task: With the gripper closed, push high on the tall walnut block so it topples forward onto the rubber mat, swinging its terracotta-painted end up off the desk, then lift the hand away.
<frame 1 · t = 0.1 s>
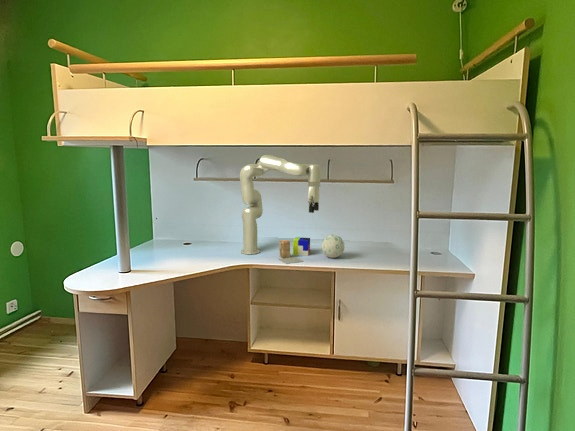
hand: (313, 211, 248), 31 cm above the table, tool pointing down, fingers open, 9 cm apart
puzzle toy: (301, 253, 268), on the table
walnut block: (284, 257, 257), on the table
rubber mat: (291, 260, 250), on the table
puzzle ball: (332, 257, 258), on the table
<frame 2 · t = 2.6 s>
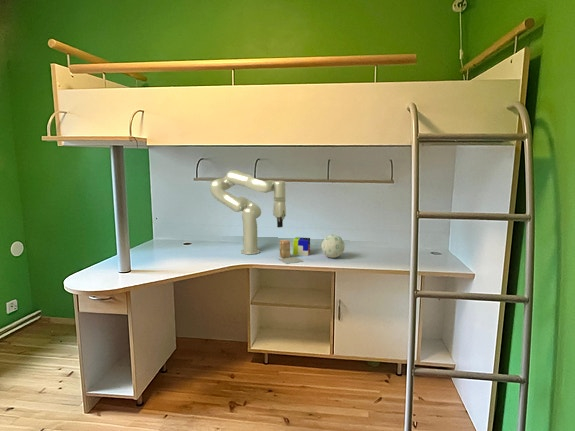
hand: (279, 227, 261), 19 cm above the table, tool pointing down, fingers closed
nothing on the table moved.
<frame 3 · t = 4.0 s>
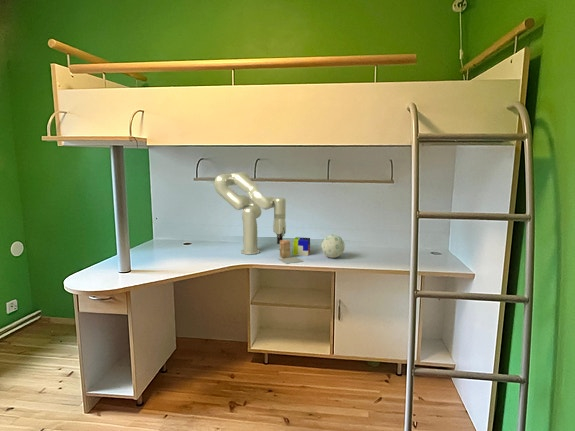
hand: (279, 243, 263), 8 cm above the table, tool pointing down, fingers closed
nothing on the table moved.
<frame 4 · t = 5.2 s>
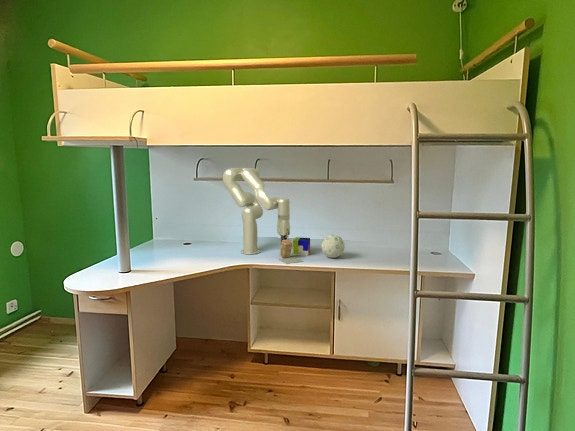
hand: (283, 245, 258), 8 cm above the table, tool pointing down, fingers closed
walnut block: (284, 256, 257), point 1 cm above the table, tilted 16°, touching gripper
everything else where it was.
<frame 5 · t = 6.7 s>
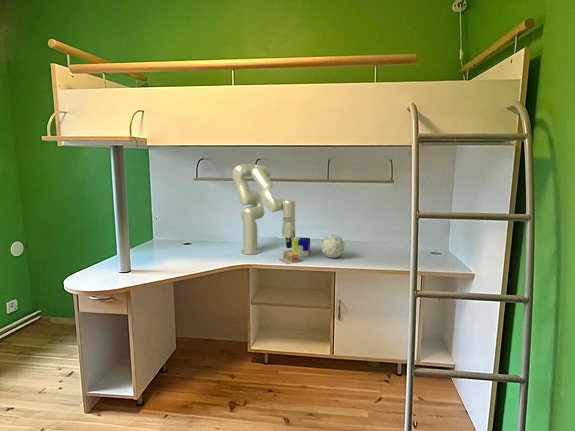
hand: (289, 247, 251), 8 cm above the table, tool pointing down, fingers closed
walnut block: (286, 254, 255), point 3 cm above the table, tilted 90°, touching rubber mat
everything else where it was.
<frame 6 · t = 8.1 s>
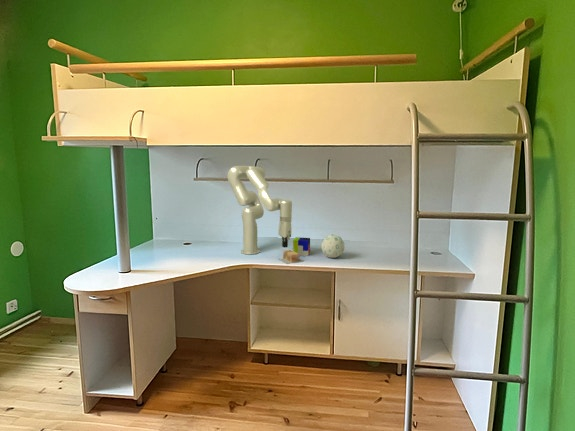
hand: (284, 246, 256), 7 cm above the table, tool pointing down, fingers closed
nothing on the table moved.
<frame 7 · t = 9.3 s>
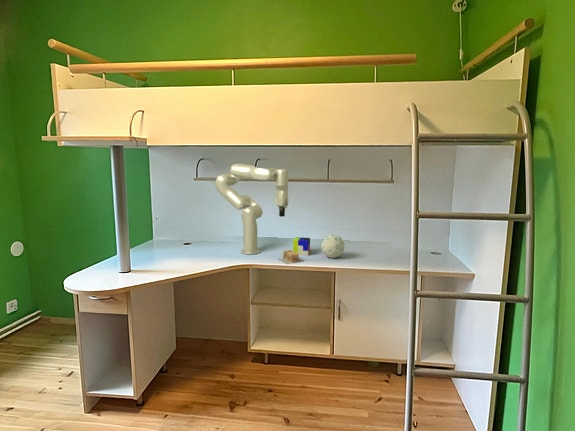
hand: (281, 216, 257), 27 cm above the table, tool pointing down, fingers closed
nothing on the table moved.
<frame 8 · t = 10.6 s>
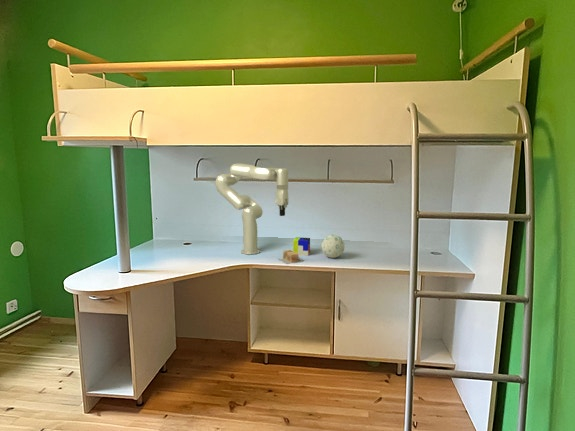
hand: (282, 215, 257), 27 cm above the table, tool pointing down, fingers closed
nothing on the table moved.
at the end: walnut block tilted 90°; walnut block inside the target area (4.1 cm from its centre), point 2.8 cm above the table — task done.
